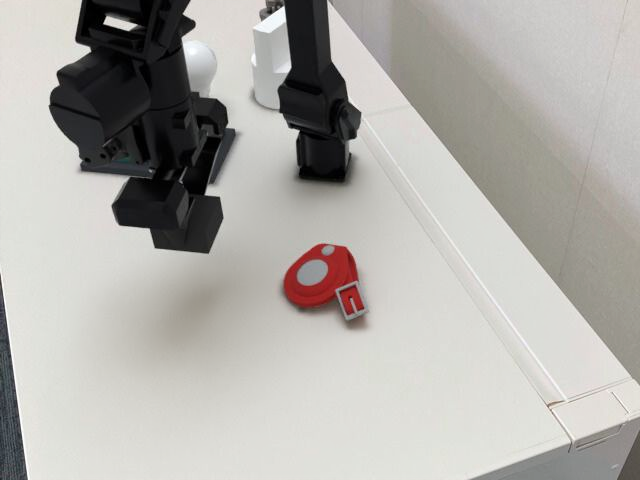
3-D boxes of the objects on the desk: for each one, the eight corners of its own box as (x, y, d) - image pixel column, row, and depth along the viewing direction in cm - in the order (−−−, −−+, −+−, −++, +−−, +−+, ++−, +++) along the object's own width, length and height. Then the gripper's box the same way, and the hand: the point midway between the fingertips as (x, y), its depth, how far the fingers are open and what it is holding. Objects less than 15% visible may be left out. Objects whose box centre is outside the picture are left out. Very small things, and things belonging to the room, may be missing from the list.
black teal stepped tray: (235, 134, 113) (232, 110, 110) (213, 183, 105) (208, 158, 102) (112, 123, 115) (106, 99, 112) (81, 170, 107) (73, 145, 104)
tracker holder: (266, 295, 89) (302, 229, 93) (281, 317, 93) (315, 252, 97) (357, 311, 83) (391, 240, 87) (369, 334, 87) (401, 265, 91)
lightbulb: (221, 124, 115) (210, 54, 107) (178, 123, 115) (164, 53, 107) (226, 101, 119) (216, 32, 111) (185, 100, 119) (172, 32, 111)
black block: (224, 218, 85) (220, 196, 83) (209, 254, 81) (204, 232, 79) (171, 213, 86) (166, 191, 83) (154, 248, 82) (148, 226, 79)
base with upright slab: (276, 73, 125) (270, -1, 116) (323, 88, 121) (321, 13, 112) (243, 99, 119) (234, 23, 110) (291, 115, 116) (286, 38, 107)
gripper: (112, 38, 78) (144, 167, 90) (34, 144, 66) (84, 277, 77) (219, 45, 77) (238, 175, 88) (160, 155, 64) (190, 288, 76)
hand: (188, 225), depth 83 cm, fingers closed on black block, 6 cm apart
